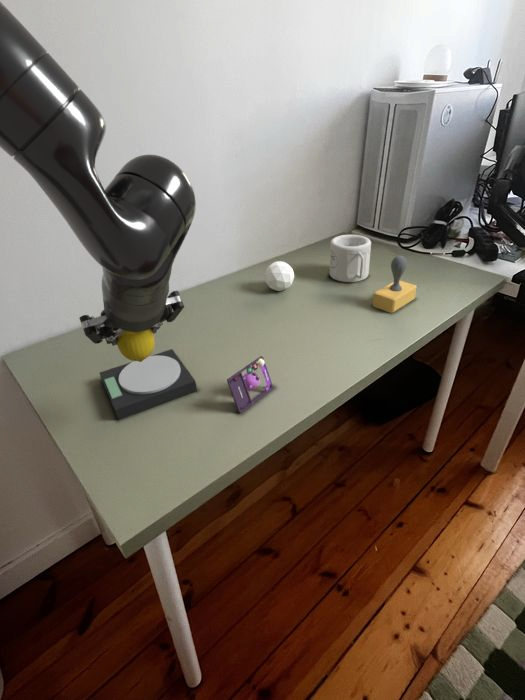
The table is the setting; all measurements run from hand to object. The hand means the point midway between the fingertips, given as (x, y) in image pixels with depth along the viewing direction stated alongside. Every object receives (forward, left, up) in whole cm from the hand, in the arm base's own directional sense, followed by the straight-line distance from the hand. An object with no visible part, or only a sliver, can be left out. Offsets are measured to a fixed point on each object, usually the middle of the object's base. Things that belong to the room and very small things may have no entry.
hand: (132, 333), depth 67 cm
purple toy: (+17, -4, -17) cm, 24 cm away
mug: (+65, +26, -17) cm, 72 cm away
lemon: (0, -2, -4) cm, 5 cm away
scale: (+2, +9, -17) cm, 19 cm away
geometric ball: (+45, +31, -17) cm, 57 cm away
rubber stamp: (+64, +8, -17) cm, 66 cm away
